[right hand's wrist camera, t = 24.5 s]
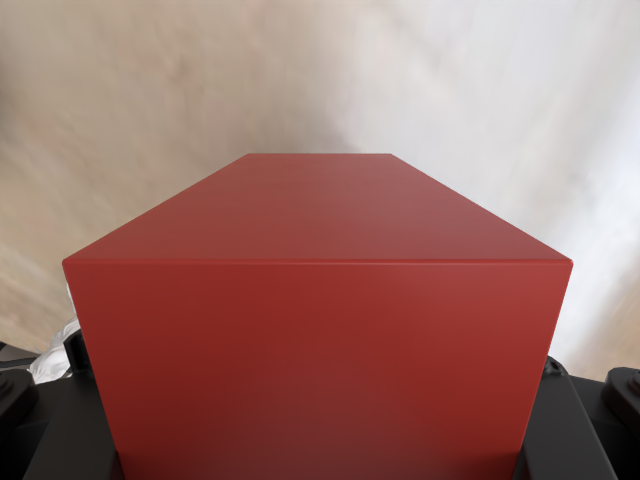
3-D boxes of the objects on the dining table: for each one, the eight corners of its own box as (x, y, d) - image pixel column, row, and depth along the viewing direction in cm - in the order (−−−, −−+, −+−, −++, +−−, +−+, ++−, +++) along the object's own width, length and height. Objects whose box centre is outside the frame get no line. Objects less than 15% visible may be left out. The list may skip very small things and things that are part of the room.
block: (379, 320, 18) (468, 633, 7) (259, 320, 18) (167, 633, 7) (391, 153, 15) (577, 260, 4) (247, 153, 15) (58, 260, 4)
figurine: (98, 332, 44) (-37, 468, 28) (48, 272, 41) (-139, 386, 24) (161, 304, 43) (59, 431, 26) (114, 240, 40) (-37, 338, 23)
